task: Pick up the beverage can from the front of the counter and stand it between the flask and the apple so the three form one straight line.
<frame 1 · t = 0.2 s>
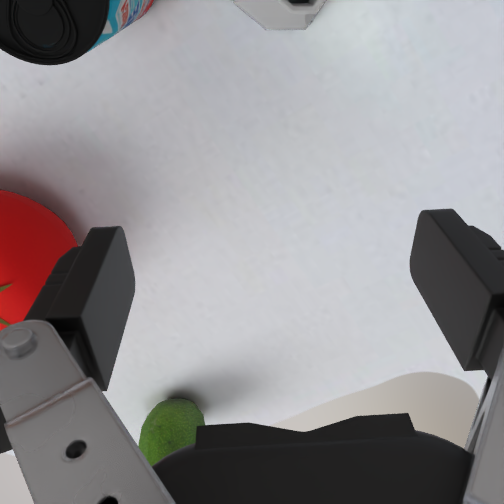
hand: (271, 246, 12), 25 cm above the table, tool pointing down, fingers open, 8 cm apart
tomato: (21, 234, 40), on the table
avocado: (177, 403, 55), on the table
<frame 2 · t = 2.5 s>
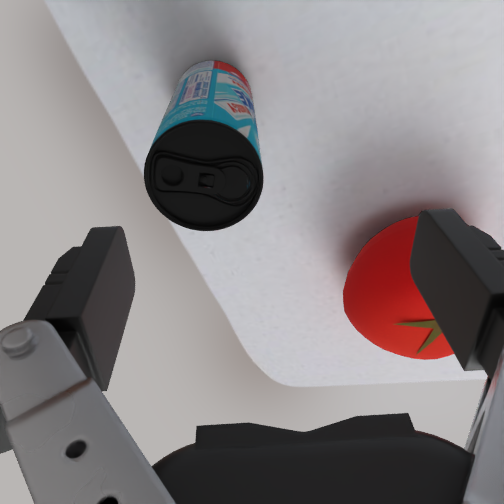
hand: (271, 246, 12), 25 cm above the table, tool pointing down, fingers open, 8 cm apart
tomato: (404, 254, 43), on the table
beverage can: (214, 98, 34), on the table
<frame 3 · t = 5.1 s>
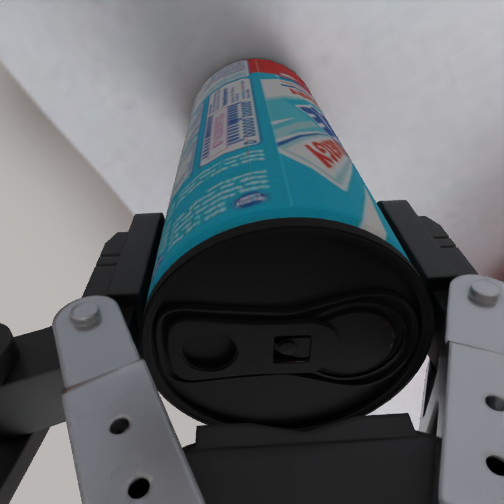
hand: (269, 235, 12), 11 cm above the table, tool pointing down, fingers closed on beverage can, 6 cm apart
beverage can: (253, 119, 21), on the table, touching gripper
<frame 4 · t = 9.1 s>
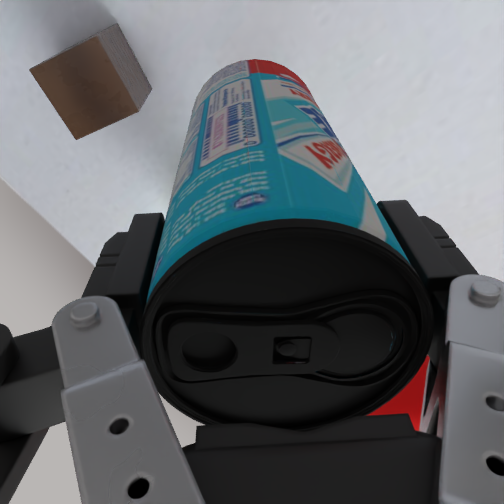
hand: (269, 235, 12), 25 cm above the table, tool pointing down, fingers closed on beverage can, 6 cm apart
tomato: (391, 371, 54), on the table
beverage can: (253, 119, 21), point 14 cm above the table, touching gripper
walnut block: (107, 71, 33), on the table
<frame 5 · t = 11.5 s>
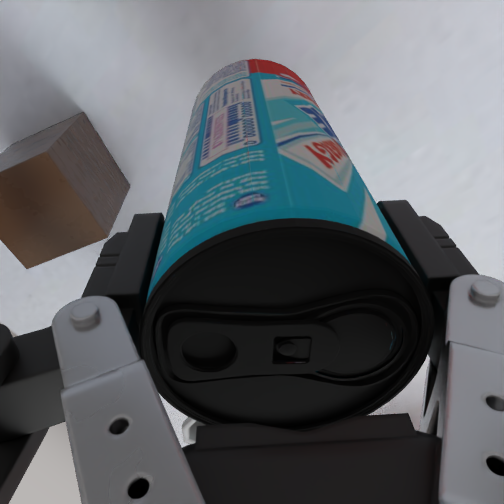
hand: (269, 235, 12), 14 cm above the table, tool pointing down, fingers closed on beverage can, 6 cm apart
flask: (214, 314, 34), on the table
beverage can: (253, 119, 21), point 4 cm above the table, touching gripper
walnut block: (72, 166, 26), on the table
when the fingers open (11 cm above the table, at t = 13.1 s): beverage can stays where it is, on the table.
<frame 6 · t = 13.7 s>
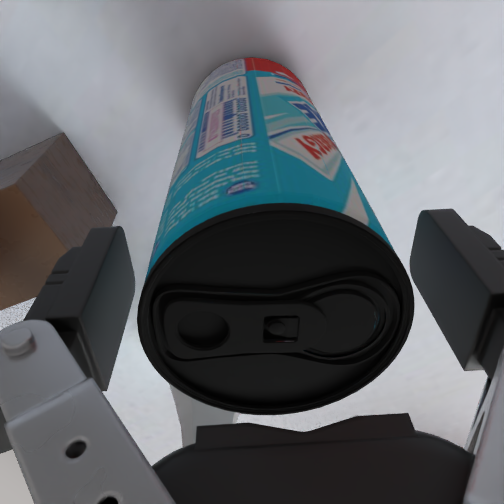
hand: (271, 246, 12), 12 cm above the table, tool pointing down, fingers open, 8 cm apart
flask: (211, 345, 31), on the table
beverage can: (250, 116, 22), on the table
walnut block: (52, 191, 24), on the table
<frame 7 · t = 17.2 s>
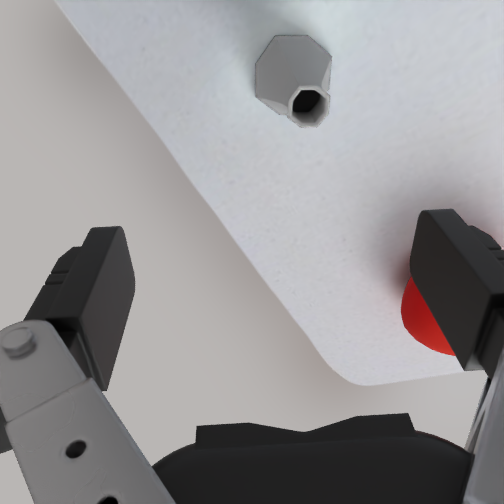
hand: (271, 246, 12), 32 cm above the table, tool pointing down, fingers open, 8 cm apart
tomato: (446, 273, 54), on the table
flask: (292, 75, 40), on the table
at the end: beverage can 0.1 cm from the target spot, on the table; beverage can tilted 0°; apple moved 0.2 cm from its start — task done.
